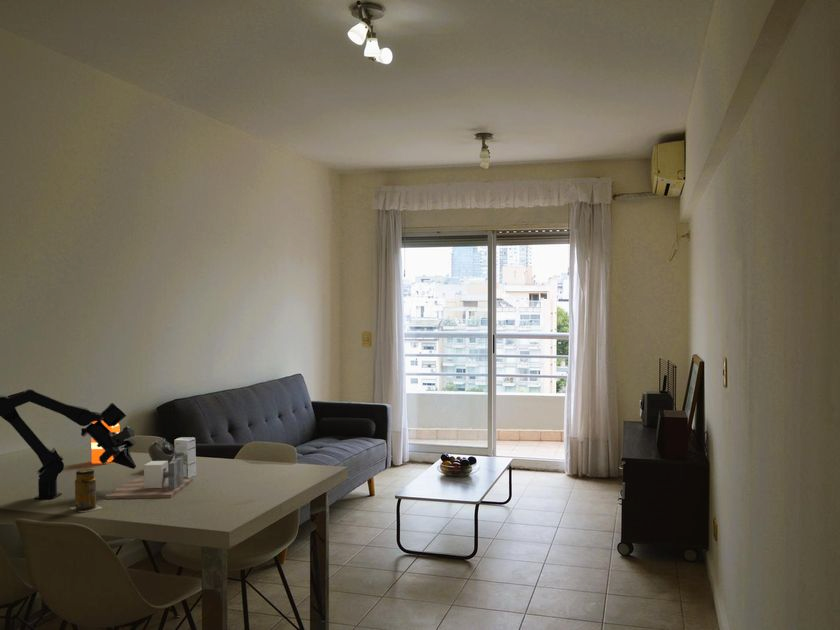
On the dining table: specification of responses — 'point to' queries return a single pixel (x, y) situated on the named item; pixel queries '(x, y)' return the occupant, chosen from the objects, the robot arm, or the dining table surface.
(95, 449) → the orange juice
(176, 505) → the dining table surface
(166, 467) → the white box with window
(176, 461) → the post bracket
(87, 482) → the condiment
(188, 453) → the syrup box
